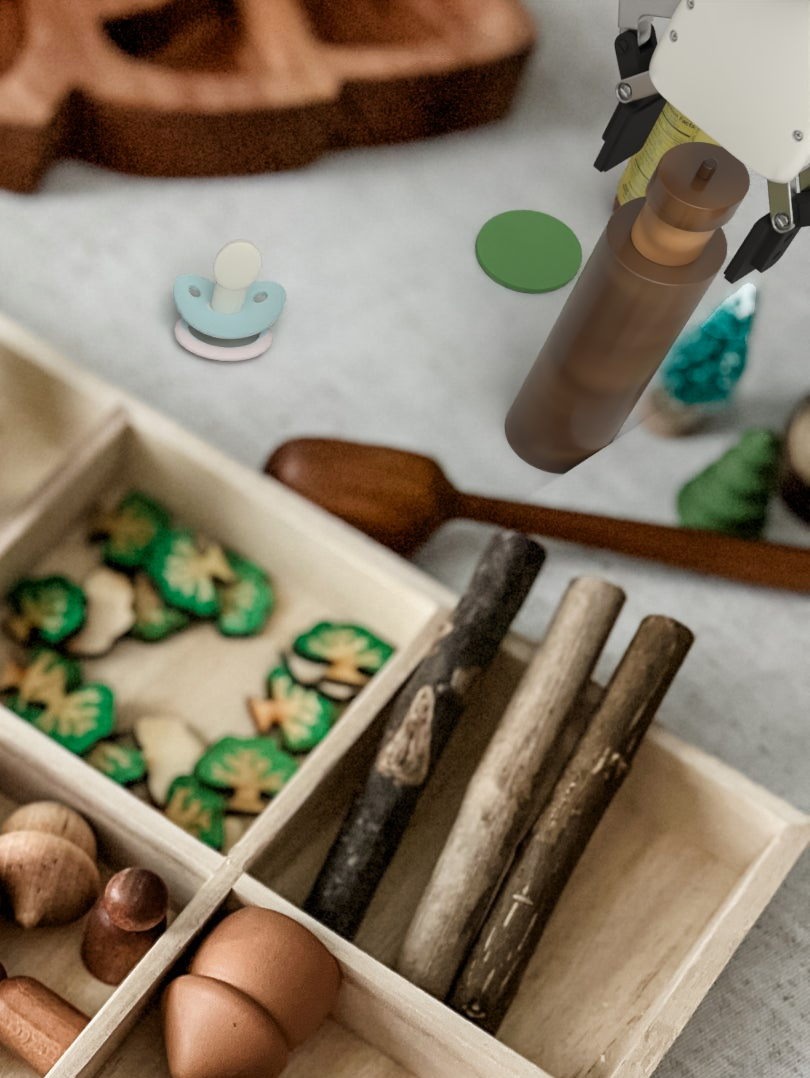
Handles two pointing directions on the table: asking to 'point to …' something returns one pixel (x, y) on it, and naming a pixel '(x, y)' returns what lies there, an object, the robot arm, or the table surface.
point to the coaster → (528, 251)
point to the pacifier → (228, 304)
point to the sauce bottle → (657, 152)
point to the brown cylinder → (605, 346)
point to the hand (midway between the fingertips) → (679, 213)
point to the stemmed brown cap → (688, 202)
